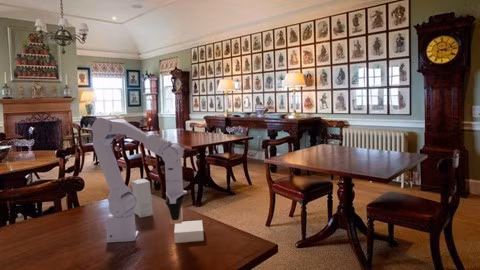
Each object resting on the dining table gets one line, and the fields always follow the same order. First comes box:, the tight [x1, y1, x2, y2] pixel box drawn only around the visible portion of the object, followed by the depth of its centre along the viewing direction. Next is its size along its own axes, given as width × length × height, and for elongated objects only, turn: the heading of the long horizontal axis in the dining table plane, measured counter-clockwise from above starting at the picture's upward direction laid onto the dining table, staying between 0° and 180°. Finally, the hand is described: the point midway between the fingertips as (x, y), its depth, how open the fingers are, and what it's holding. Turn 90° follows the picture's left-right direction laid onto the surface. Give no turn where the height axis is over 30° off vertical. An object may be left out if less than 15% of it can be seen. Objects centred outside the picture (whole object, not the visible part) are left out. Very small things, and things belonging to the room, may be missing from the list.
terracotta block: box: [168, 205, 184, 225], centre depth 118 cm, size 4×4×5 cm
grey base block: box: [173, 219, 205, 244], centre depth 123 cm, size 10×10×4 cm
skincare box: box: [131, 178, 154, 218], centre depth 146 cm, size 8×6×15 cm
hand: (176, 217), depth 119 cm, fingers closed on terracotta block, 4 cm apart
